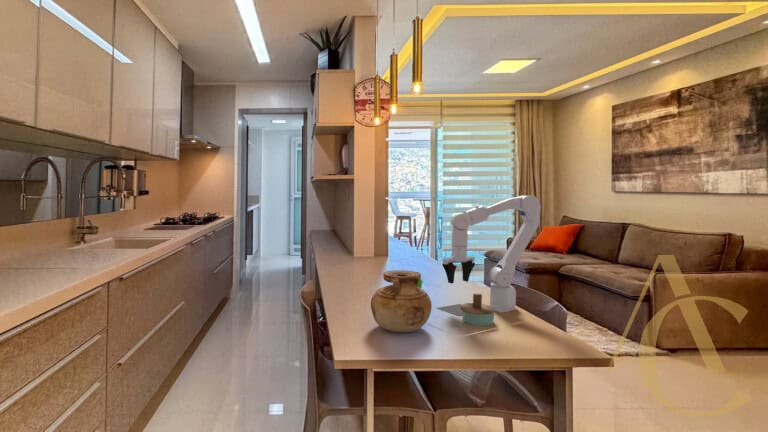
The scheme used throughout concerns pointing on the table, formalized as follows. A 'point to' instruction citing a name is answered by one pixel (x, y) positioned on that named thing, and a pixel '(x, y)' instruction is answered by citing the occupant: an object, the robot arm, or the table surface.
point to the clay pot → (401, 303)
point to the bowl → (478, 319)
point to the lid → (477, 306)
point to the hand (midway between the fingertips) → (458, 282)
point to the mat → (452, 309)
